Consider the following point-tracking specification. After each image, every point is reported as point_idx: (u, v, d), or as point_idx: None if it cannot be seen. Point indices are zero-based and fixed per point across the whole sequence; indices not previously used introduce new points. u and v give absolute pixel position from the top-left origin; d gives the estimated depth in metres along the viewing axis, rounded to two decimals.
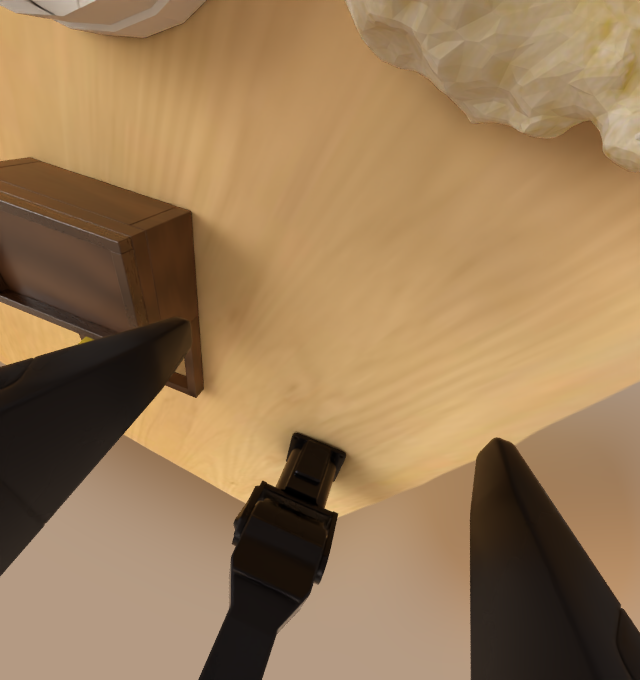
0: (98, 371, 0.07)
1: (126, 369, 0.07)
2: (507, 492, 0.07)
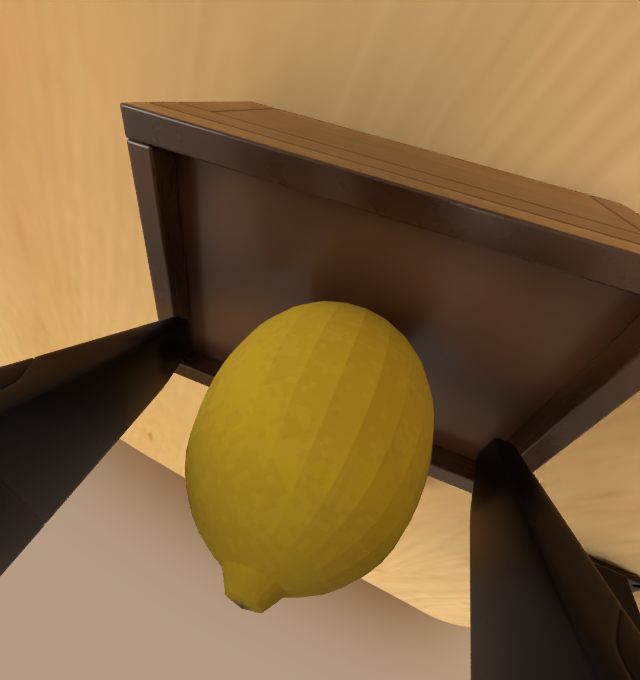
0: (98, 371, 0.07)
1: (126, 369, 0.07)
2: (507, 492, 0.07)
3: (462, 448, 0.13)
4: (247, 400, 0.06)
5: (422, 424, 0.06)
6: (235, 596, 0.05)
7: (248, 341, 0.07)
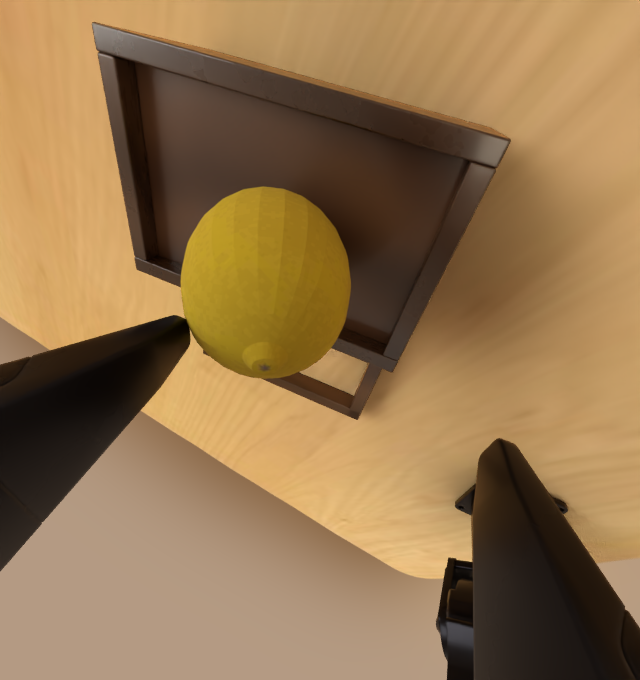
0: (95, 370, 0.07)
1: (123, 368, 0.07)
2: (510, 493, 0.07)
3: (369, 330, 0.16)
4: (227, 245, 0.08)
5: (340, 249, 0.10)
6: (259, 361, 0.08)
7: (204, 221, 0.09)
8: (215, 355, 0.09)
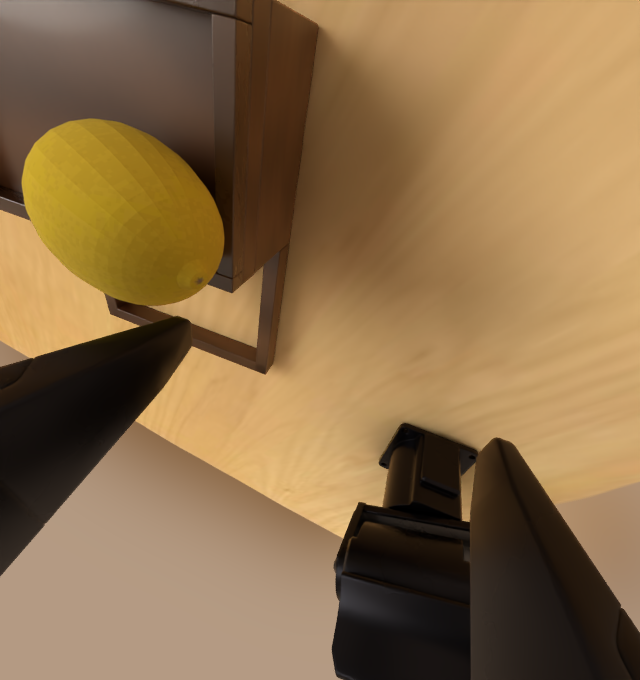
0: (98, 371, 0.07)
1: (126, 369, 0.07)
2: (507, 492, 0.07)
3: None
4: (94, 209, 0.09)
5: (172, 153, 0.11)
6: (193, 279, 0.10)
7: (40, 201, 0.09)
8: (155, 299, 0.11)
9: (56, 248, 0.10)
